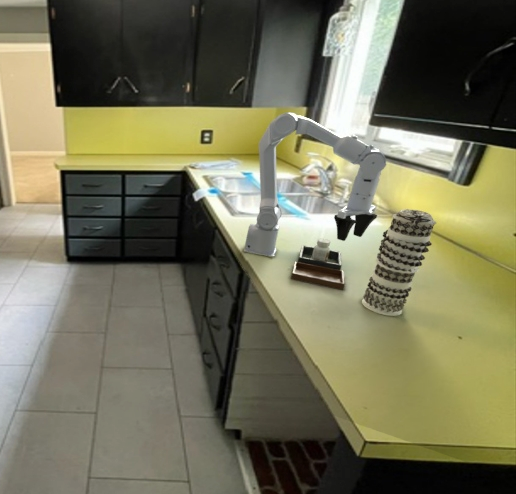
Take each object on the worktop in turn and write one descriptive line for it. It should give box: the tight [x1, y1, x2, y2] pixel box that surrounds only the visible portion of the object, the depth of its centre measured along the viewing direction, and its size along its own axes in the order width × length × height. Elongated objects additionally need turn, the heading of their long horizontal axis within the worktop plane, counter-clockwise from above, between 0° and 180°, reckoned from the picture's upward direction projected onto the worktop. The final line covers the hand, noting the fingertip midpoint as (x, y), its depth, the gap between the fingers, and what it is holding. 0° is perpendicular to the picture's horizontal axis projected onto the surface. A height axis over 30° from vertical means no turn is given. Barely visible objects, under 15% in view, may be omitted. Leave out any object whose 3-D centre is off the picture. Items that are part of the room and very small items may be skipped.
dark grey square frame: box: [297, 244, 342, 270], centre depth 115 cm, size 11×11×3 cm
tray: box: [290, 261, 346, 291], centre depth 106 cm, size 13×9×2 cm
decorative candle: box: [361, 208, 437, 317], centre depth 87 cm, size 9×9×25 cm
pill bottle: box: [310, 238, 331, 262], centre depth 114 cm, size 4×4×8 cm
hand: (349, 237), depth 109 cm, fingers open, 7 cm apart
